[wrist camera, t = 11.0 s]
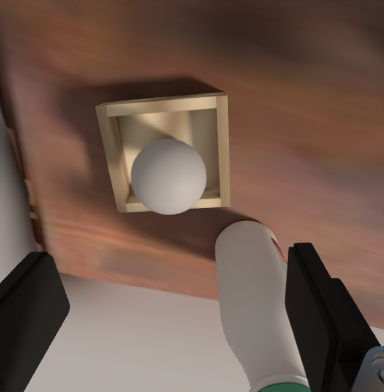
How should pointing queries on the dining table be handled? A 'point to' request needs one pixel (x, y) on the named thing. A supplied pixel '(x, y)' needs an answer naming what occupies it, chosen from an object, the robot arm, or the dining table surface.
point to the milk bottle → (257, 308)
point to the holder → (167, 129)
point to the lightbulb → (168, 176)
